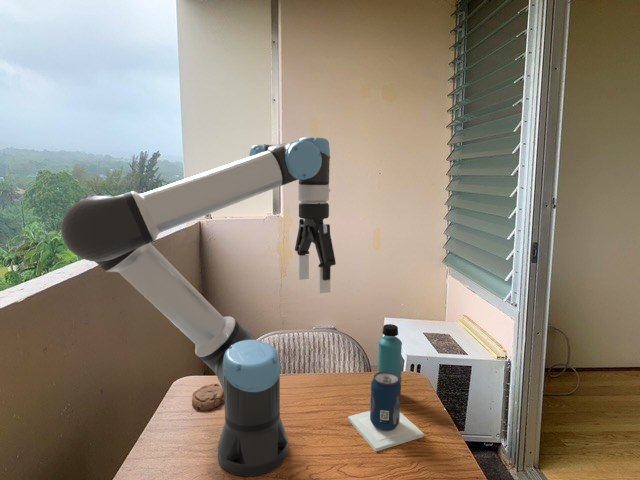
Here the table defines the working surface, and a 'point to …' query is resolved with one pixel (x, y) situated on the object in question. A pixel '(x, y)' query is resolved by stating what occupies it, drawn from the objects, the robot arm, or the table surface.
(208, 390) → the cookie
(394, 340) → the beverage bottle
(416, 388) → the table surface
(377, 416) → the soda can
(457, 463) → the table surface
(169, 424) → the table surface
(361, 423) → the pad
